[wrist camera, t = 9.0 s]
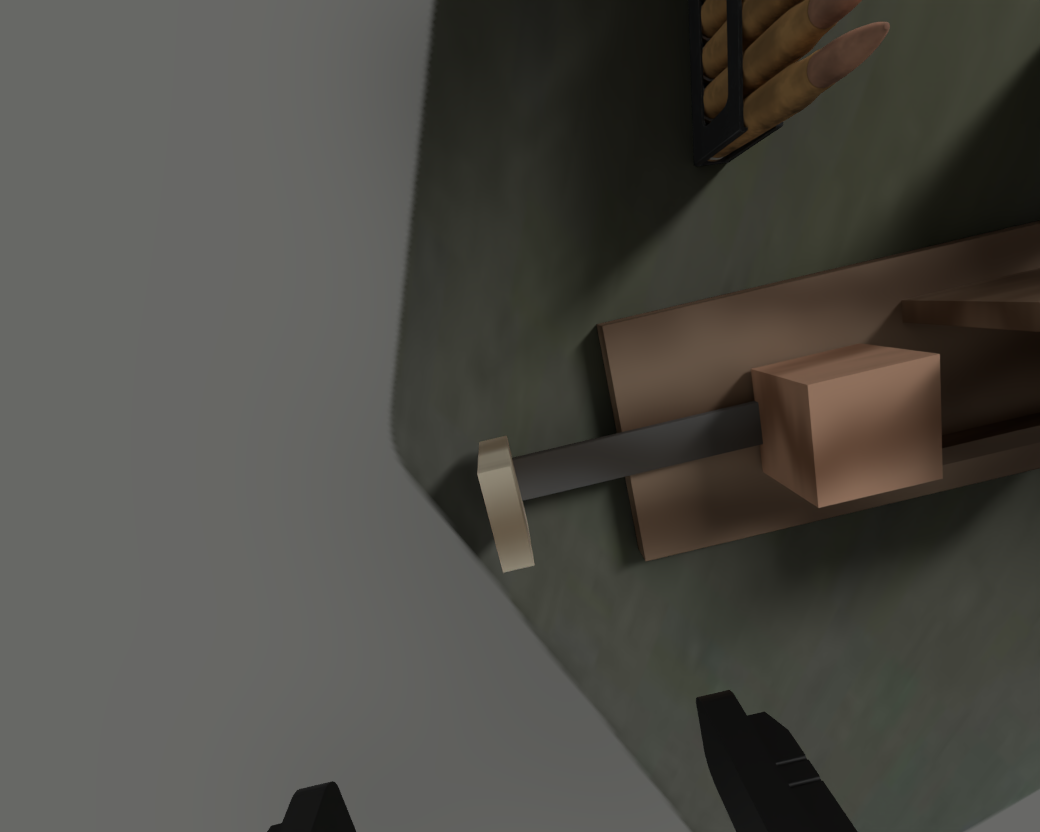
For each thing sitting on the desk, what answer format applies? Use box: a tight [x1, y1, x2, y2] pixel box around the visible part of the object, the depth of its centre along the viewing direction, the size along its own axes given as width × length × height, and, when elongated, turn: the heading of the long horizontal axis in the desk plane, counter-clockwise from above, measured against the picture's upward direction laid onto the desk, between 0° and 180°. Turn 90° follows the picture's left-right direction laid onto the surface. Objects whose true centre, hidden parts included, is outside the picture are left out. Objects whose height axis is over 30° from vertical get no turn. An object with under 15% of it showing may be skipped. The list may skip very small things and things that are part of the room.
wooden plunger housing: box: [596, 221, 1040, 561], centre depth 24 cm, size 14×28×12 cm, turn 103°
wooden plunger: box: [477, 343, 943, 573], centre depth 26 cm, size 6×21×5 cm, turn 103°
